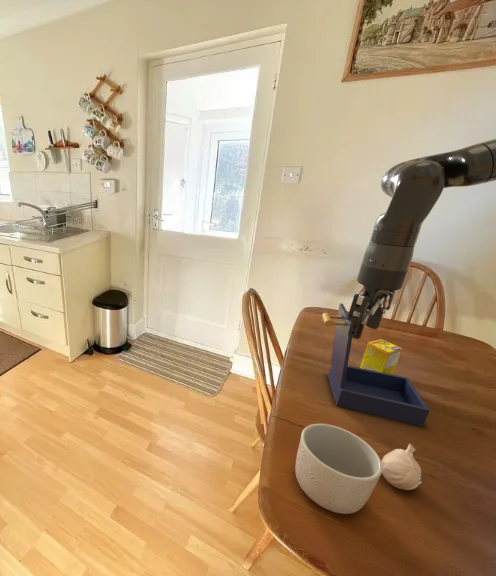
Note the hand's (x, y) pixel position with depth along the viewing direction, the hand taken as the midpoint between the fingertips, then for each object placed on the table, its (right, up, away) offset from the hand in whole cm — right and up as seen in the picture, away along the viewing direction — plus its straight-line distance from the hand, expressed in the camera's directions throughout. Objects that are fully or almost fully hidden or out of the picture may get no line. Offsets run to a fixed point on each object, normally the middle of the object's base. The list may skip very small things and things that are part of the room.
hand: (362, 332), depth 71 cm
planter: (-15, -30, -9) cm, 35 cm away
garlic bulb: (0, -29, -7) cm, 30 cm away
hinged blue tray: (+14, -21, +15) cm, 29 cm away
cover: (+5, -5, +13) cm, 15 cm away
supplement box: (+23, -17, +24) cm, 37 cm away
